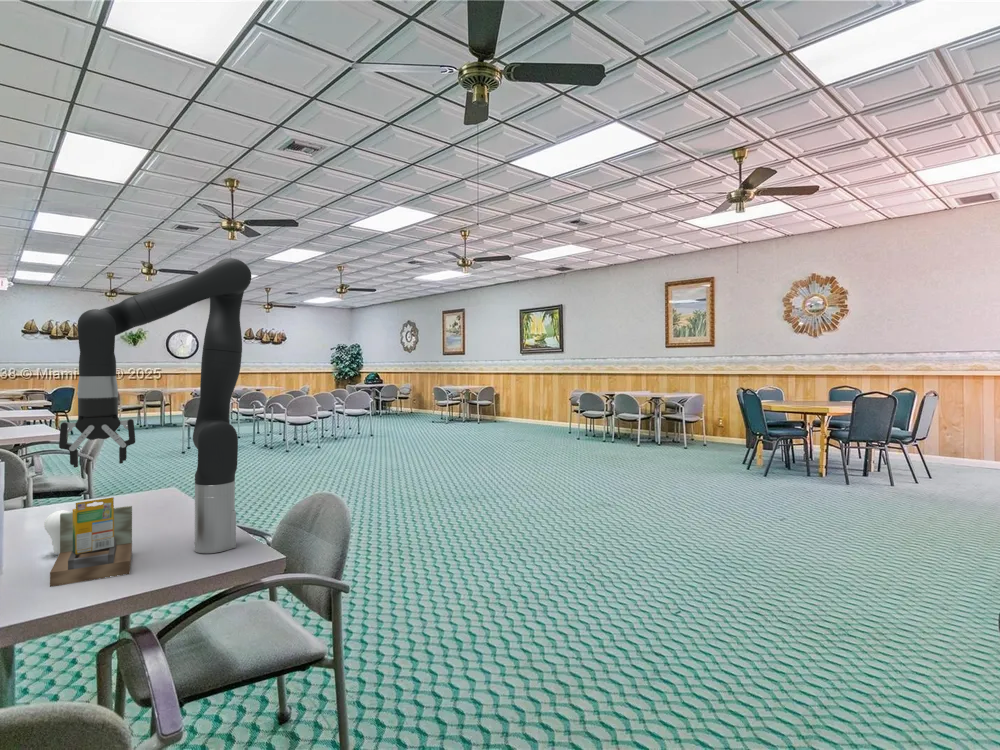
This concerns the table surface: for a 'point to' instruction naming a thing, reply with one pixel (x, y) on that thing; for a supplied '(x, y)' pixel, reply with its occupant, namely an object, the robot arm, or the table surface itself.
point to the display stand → (93, 552)
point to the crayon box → (93, 526)
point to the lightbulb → (54, 529)
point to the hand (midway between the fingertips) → (98, 464)
